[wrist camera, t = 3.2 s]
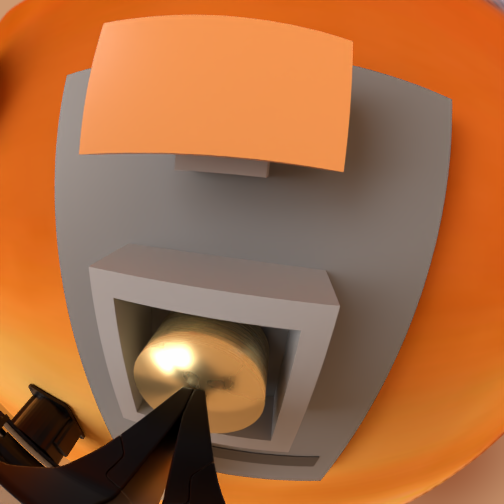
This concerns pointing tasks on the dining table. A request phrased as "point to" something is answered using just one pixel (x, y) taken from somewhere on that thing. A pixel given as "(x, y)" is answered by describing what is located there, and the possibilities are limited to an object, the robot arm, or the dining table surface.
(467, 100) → the dining table surface
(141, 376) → the button
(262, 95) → the rocker
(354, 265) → the panel
